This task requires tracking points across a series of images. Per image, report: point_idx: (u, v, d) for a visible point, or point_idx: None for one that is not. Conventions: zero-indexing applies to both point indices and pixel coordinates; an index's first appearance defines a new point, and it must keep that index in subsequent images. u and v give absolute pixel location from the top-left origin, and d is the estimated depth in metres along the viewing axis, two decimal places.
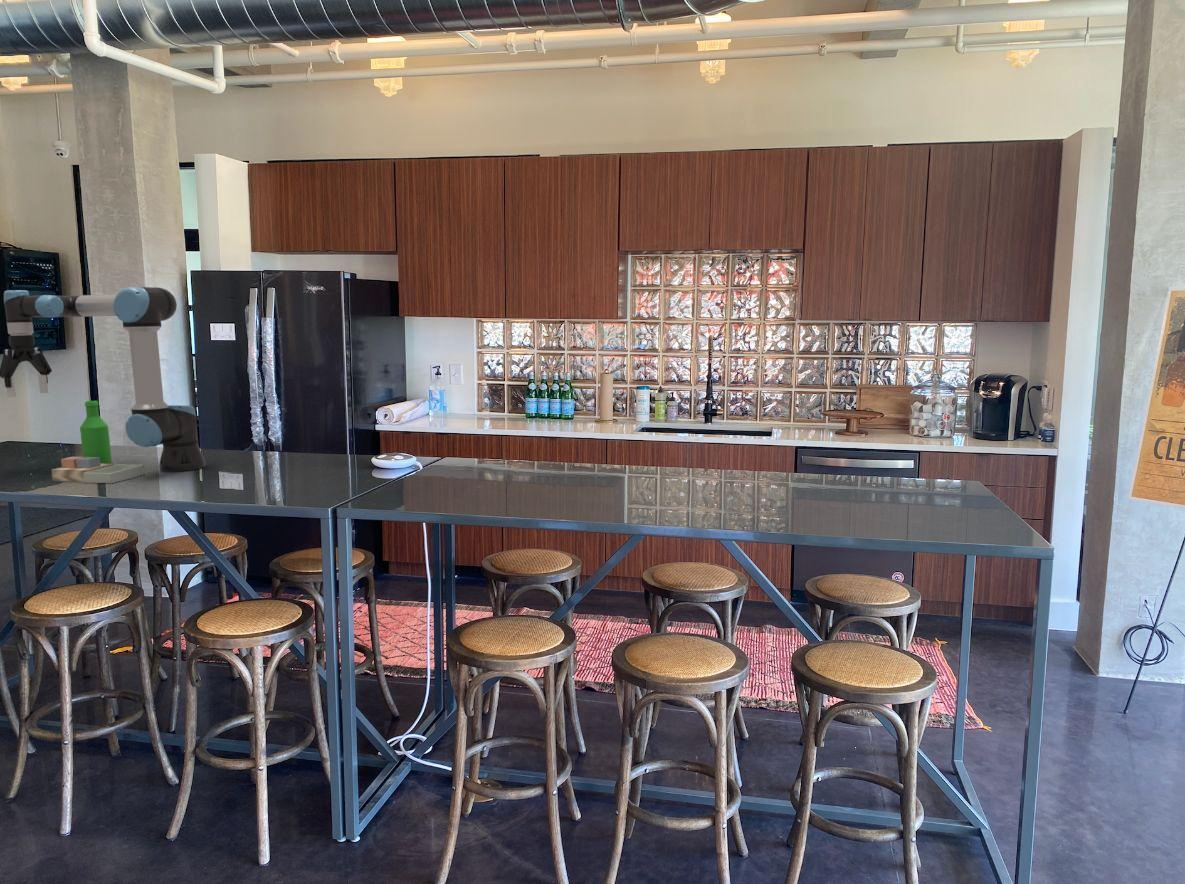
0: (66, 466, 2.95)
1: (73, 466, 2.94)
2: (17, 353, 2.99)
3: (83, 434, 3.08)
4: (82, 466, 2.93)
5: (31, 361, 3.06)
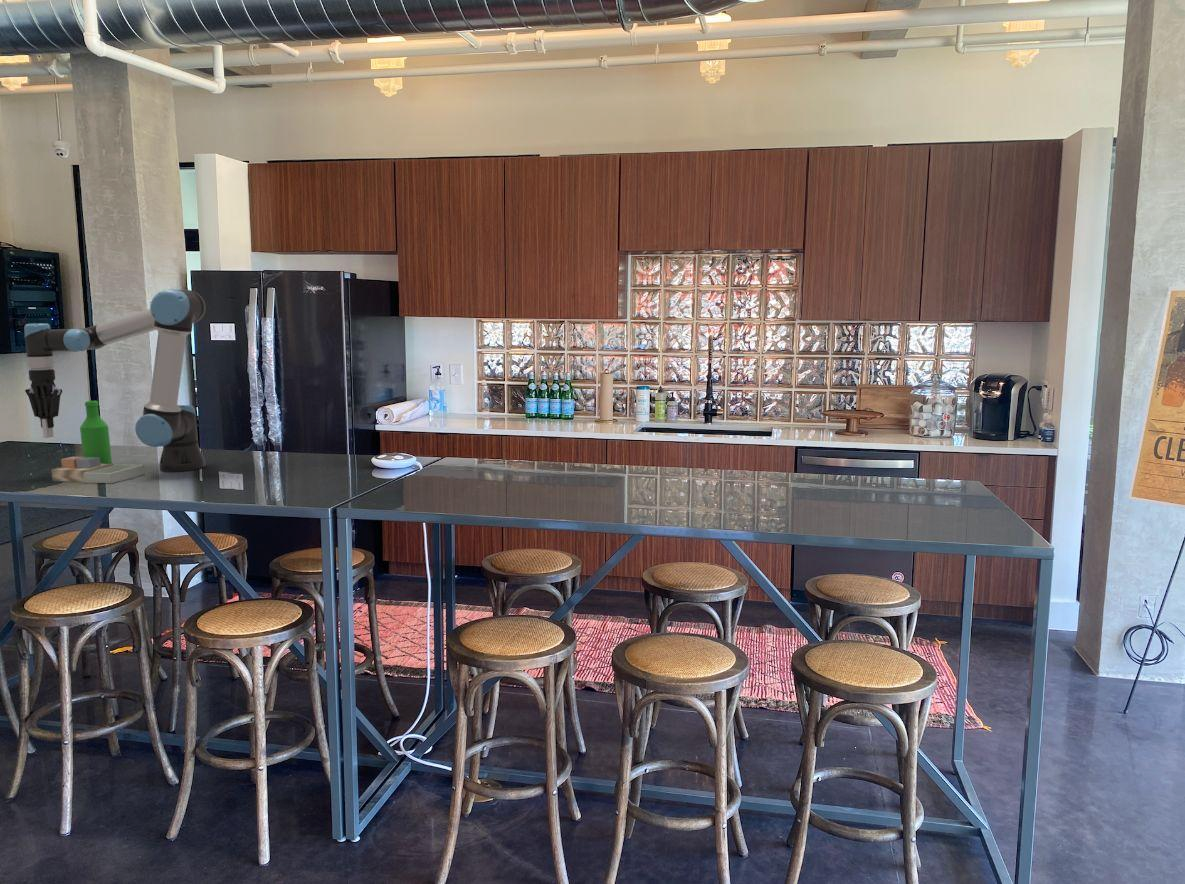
0: (66, 466, 2.95)
1: (73, 466, 2.94)
2: (33, 388, 2.94)
3: (83, 434, 3.08)
4: (82, 466, 2.93)
5: None
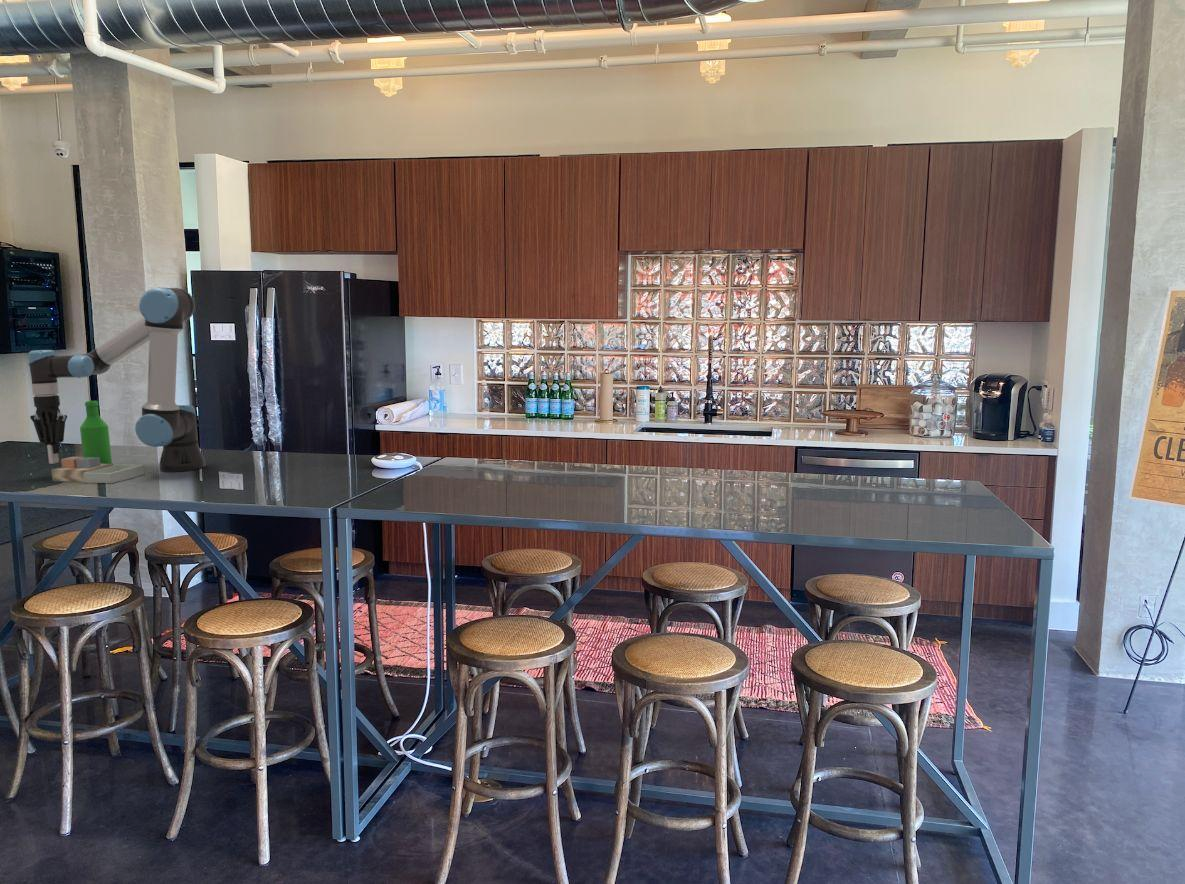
0: (66, 466, 2.95)
1: (73, 466, 2.94)
2: (38, 414, 2.95)
3: (83, 434, 3.08)
4: (82, 466, 2.93)
5: None
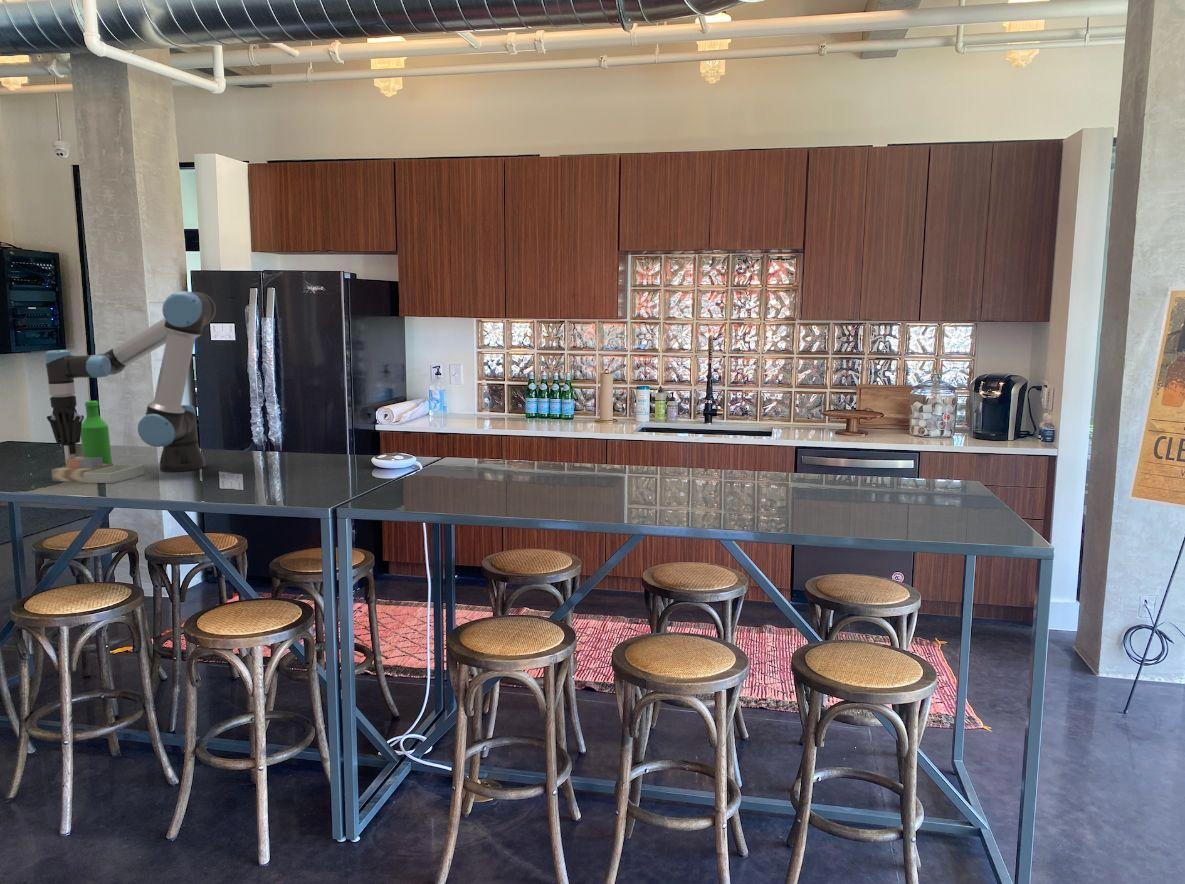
0: (71, 466, 2.94)
1: (78, 466, 2.94)
2: (55, 414, 2.94)
3: (83, 434, 3.08)
4: (84, 466, 2.93)
5: None
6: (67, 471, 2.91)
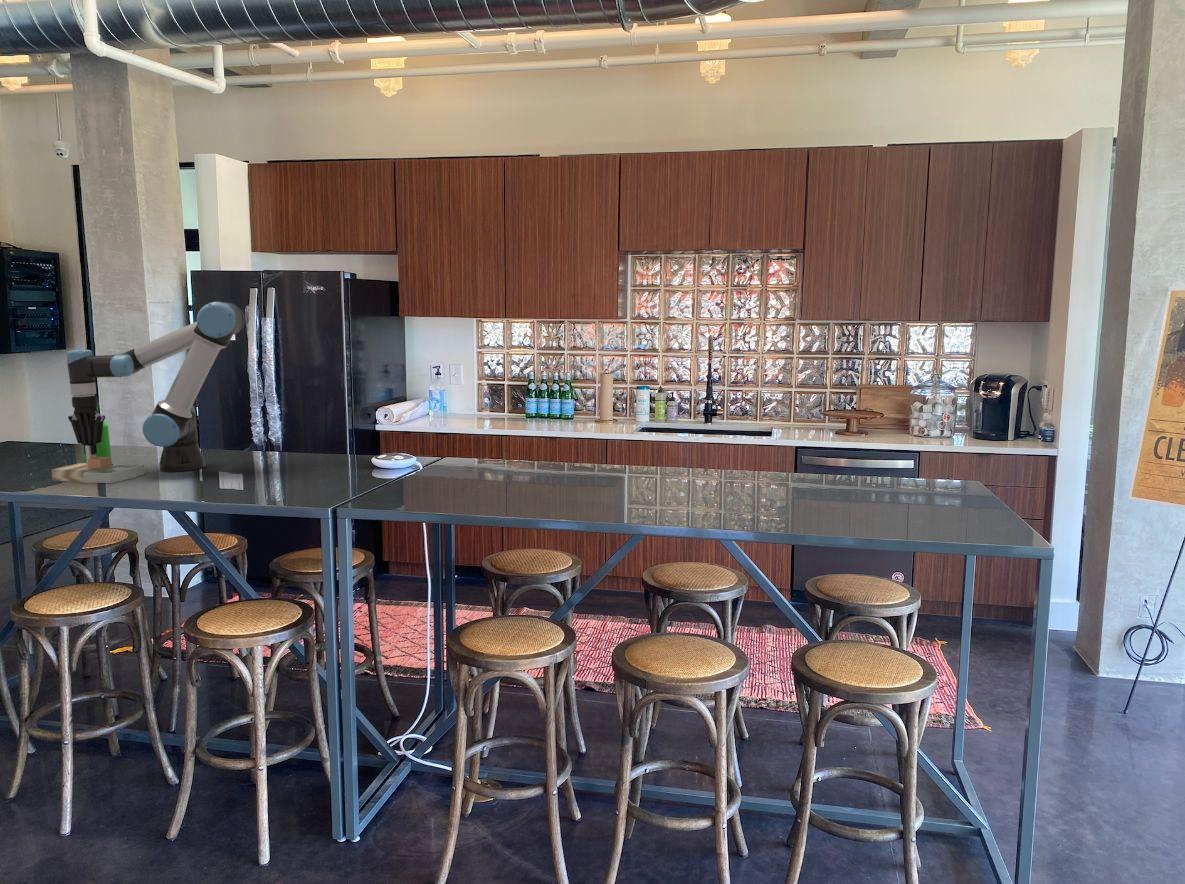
0: (92, 466, 2.93)
1: (99, 467, 2.92)
2: (76, 414, 2.92)
3: None
4: None
5: None
6: (67, 471, 2.91)
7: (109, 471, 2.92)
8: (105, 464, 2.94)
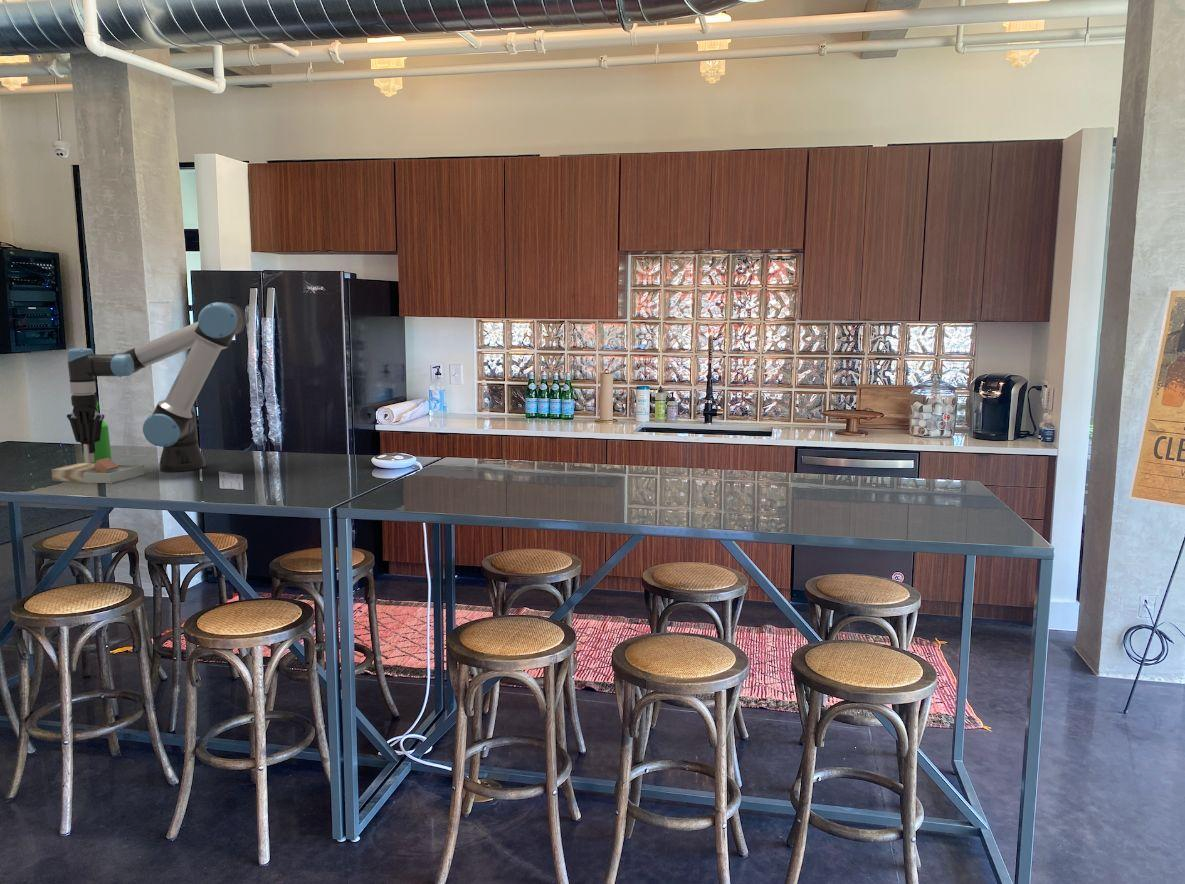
0: (97, 469, 2.92)
1: None
2: (75, 413, 2.92)
3: None
4: None
5: None
6: (67, 471, 2.91)
7: (110, 471, 2.91)
8: None
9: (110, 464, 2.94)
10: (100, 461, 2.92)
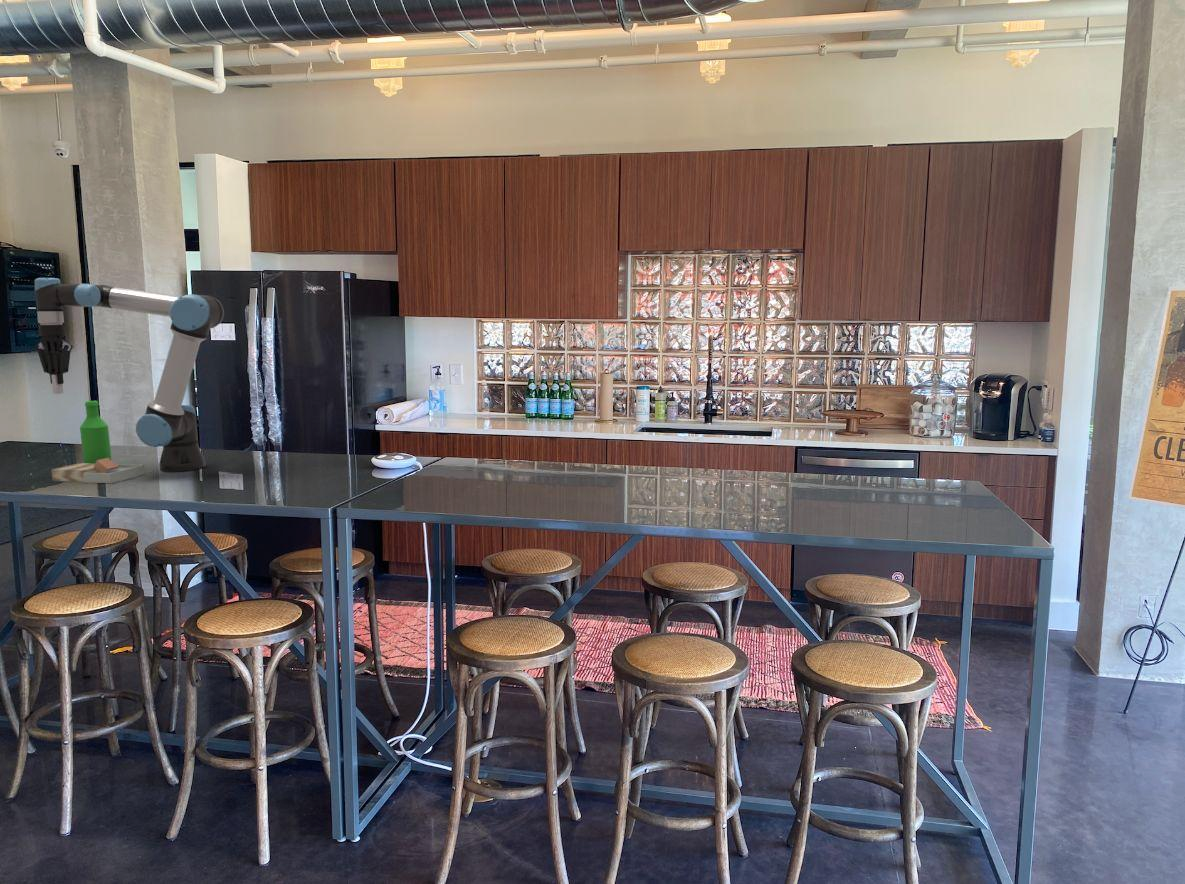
0: (97, 469, 2.92)
1: None
2: (43, 343, 2.92)
3: (83, 434, 3.08)
4: None
5: None
6: (67, 471, 2.91)
7: (110, 471, 2.91)
8: None
9: (110, 464, 2.94)
10: (100, 461, 2.92)
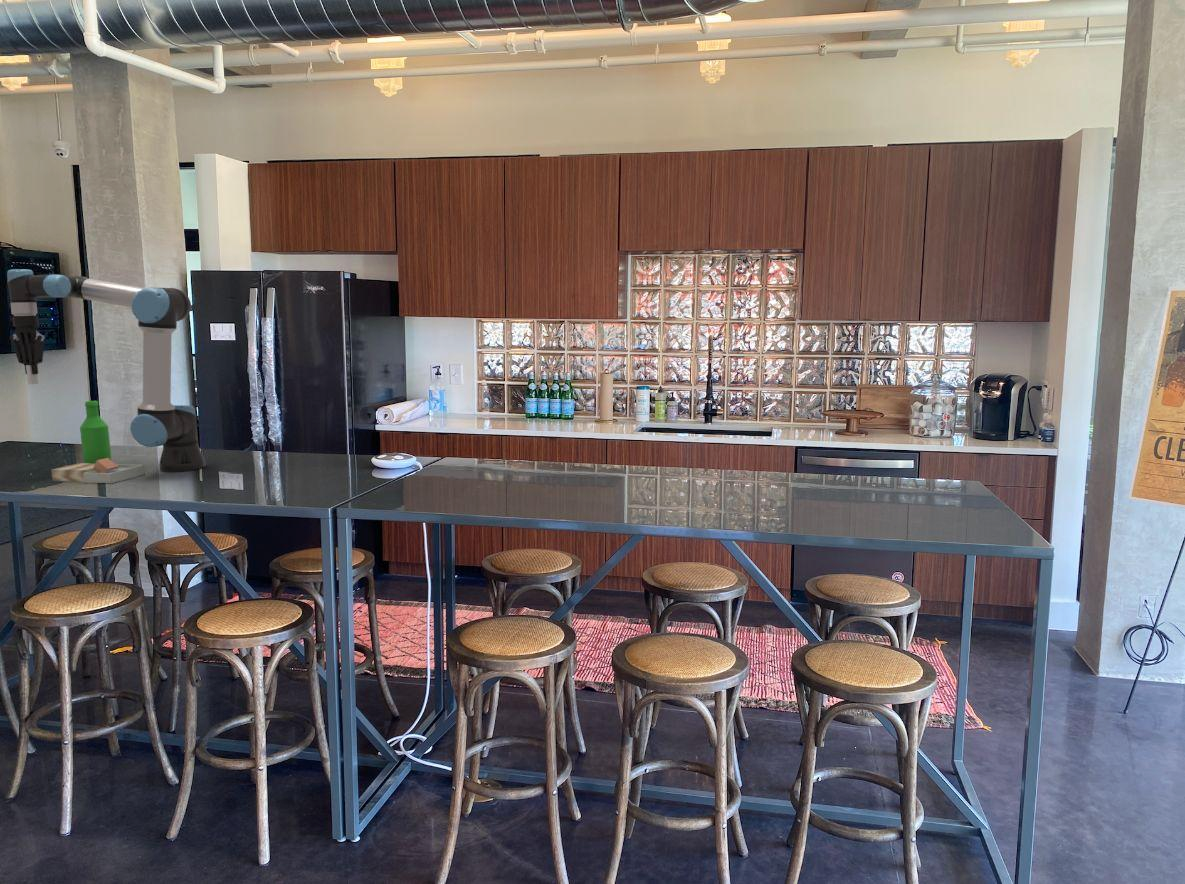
0: (97, 469, 2.92)
1: None
2: (17, 334, 2.95)
3: (83, 434, 3.08)
4: None
5: None
6: (67, 471, 2.91)
7: (110, 471, 2.91)
8: None
9: (110, 464, 2.94)
10: (100, 461, 2.92)
